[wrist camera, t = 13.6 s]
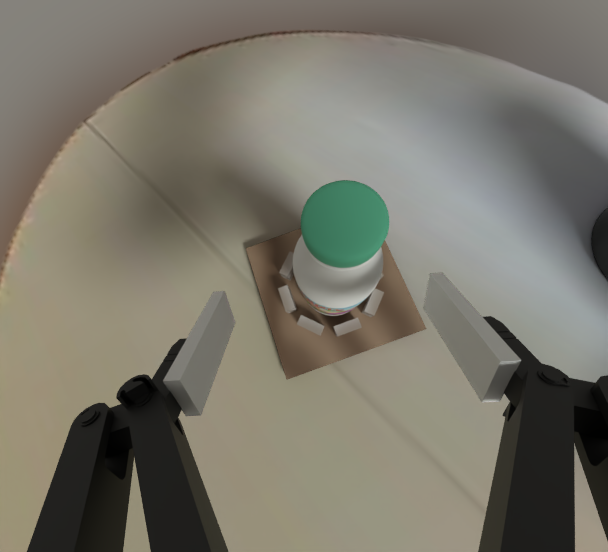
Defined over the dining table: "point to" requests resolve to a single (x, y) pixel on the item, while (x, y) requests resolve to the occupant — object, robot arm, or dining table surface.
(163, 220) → the dining table surface
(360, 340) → the ring seat
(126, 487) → the robot arm
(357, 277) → the milk bottle
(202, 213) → the dining table surface
